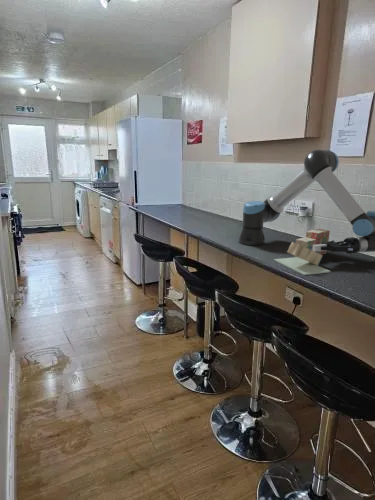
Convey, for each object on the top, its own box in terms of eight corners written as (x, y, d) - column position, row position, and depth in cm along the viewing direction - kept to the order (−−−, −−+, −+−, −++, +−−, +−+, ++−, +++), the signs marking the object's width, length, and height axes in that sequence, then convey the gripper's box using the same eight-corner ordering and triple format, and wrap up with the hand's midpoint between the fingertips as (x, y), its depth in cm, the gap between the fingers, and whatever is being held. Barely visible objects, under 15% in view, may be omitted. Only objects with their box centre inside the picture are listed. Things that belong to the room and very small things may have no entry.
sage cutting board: (274, 260, 156) (274, 259, 156) (297, 258, 160) (297, 257, 160) (304, 275, 136) (304, 273, 136) (330, 272, 140) (330, 271, 140)
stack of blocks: (304, 260, 157) (307, 235, 154) (293, 257, 162) (296, 233, 159) (327, 253, 171) (330, 230, 168) (315, 250, 175) (318, 228, 172)
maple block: (310, 262, 153) (287, 252, 147) (315, 252, 152) (291, 241, 146) (318, 265, 148) (294, 255, 142) (322, 255, 148) (299, 244, 142)
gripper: (364, 256, 150) (322, 260, 143) (342, 249, 162) (303, 252, 154) (367, 240, 148) (325, 243, 141) (345, 234, 160) (305, 236, 153)
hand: (313, 248), depth 148 cm, fingers closed
